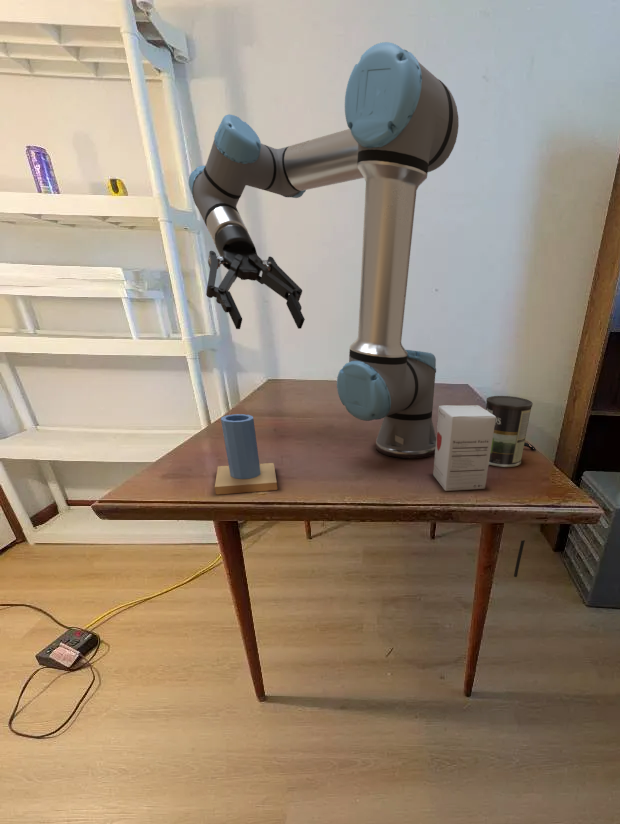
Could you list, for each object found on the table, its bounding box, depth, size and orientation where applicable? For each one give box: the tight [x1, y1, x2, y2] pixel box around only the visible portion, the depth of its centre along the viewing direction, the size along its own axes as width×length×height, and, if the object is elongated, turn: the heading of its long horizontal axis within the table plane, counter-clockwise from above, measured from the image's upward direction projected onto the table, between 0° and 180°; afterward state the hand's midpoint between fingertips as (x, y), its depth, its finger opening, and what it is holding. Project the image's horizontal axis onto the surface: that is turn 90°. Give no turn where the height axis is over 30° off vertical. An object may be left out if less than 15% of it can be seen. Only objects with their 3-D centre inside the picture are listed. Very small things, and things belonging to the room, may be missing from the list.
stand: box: [214, 462, 278, 496], centre depth 82 cm, size 11×11×11 cm
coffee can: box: [485, 395, 534, 468], centre depth 100 cm, size 10×10×14 cm
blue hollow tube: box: [220, 413, 261, 479], centre depth 82 cm, size 6×6×11 cm
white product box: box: [432, 404, 496, 492], centre depth 86 cm, size 9×9×15 cm
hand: (271, 324), depth 88 cm, fingers open, 13 cm apart
